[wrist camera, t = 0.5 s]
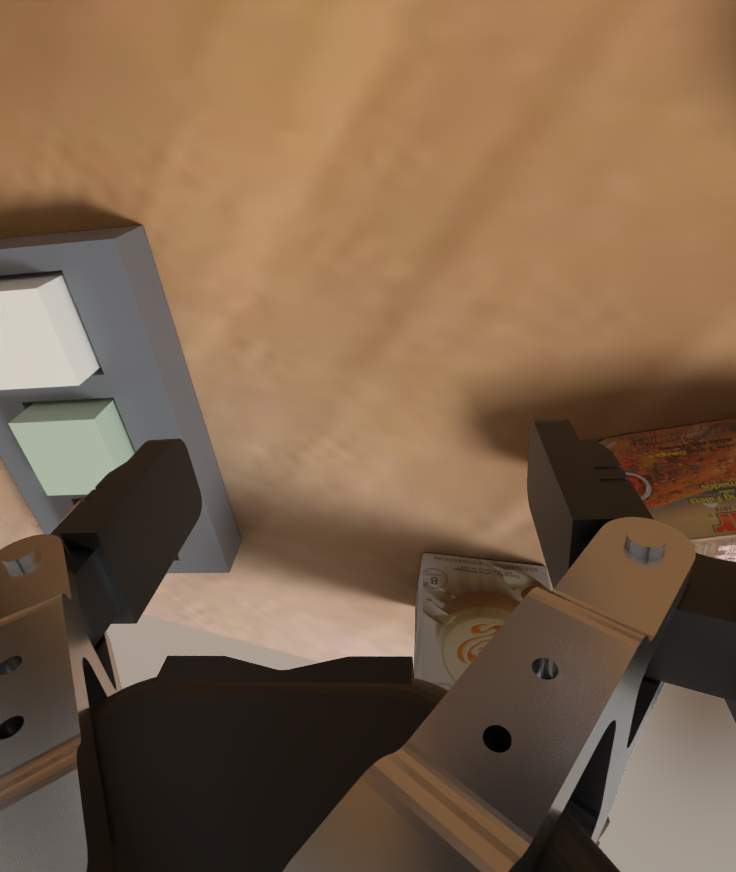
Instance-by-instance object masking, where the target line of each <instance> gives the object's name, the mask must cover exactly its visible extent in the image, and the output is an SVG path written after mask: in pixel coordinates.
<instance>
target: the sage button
mask: <svg viewBox="0 0 736 872" xmlns="http://www.w3.org/2000/svg"><path fill="white" fill-rule="evenodd" d="M8 424H9V426H10V428H11V430H12V432H13V434H14V435H15V437H16V439H17V441H18V443H19V445H20V446H21V448H22V450H23V452H24V454H25V456H26V458H27V459H28V461H29V463H30V465H31V467H32V469H33V470H34V472H35V474H36V476H37V478H38V480H39V481H40V483H41V485H42V487H43V489H44V491H45V492H46V494H47V496H52V495H86V494H89V493H90V492H91V491H92V490H95V487H96V485H97V484H98V483H99V482H100V481H101V480H102V479H103V478H104V477H105V476H106V475H107V474H108V473H109V472H111V471H113V470H114V469H116V468H117V467H119V466H121V465H122V464H124V463H125V462H127V461H128V460H129V459H130V458H131V457H132V456H133V455H134V454H135V449H134V447H133V444H132V442H131V439H130V437H129V434H128V432H127V429H126V427H125V424H124V422H123V420H122V417H121V415H120V412H119V410H118V407H117V405H116V402H115V400H114V398H97V399H78V400H60V401H41V402H34V403H33V404H32V405H30V406H29V407H28V408H27V409H25V410H24V411H23V412H22V413H20V414H19V415H18V416H17V417H15V418H14V419H13V420H12V421H10V422H9V423H8Z"/></svg>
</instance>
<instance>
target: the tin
mask: <svg viewBox="0 0 736 872" xmlns="http://www.w3.org/2000/svg"><path fill="white" fill-rule="evenodd" d="M599 443H600V444H602V445H603V446H605V447H606V448H608V449H609V450H611V451H612V452H613V454H614V455H615V457H616V458H617V460H618V462H619V463H620V465H621V469H623V470H624V471H625V473H626V475H627V476H628V478H629V481H631V483H632V484H633V486H634V488H635V489H636V491H637V493H638V494H639V496H640V497H641V499H642V501H643V502H644V504H645V506H646V507H647V509H648V510H649V512H650V514H651V515H652V517H653V519H654V520H656V521H660V522H662V523H665V524H668V525H670V526H672V527H674V528H676V529H677V530H679V531H680V532H682V533H683V534H684V535H685V536H686V537H687V538H688V539H689V540H690V541H691V542H692V544H693V546H694V548H695V551H696V553H698V554H701V555H705V556H708V557H713V558H717V559H722V560H728V561H733V562H736V418H730V419H724V420H717V421H711V422H704V423H698V424H692V425H685V426H679V427H673V428H666V429H659V430H652V431H645V432H639V433H632V434H626V435H620V436H615V437H611V438H608V439H605V440H602V441H600V442H599Z"/></svg>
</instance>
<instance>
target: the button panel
mask: <svg viewBox="0 0 736 872" xmlns="http://www.w3.org/2000/svg"><path fill="white" fill-rule="evenodd" d="M58 270H62V272H63V274H64V277H65V279H66V282H67V284H68V287H69V289H70V292H71V294H72V297H73V299H74V302H75V304H76V306H77V309H78V311H79V314H80V316H81V319H82V321H83V324H84V326H85V329H86V331H87V334H88V336H89V338H90V341H91V343H92V346H93V348H94V351H95V353H96V356H97V358H98V361H99V363H100V365H101V367H100V368H99V369H98V370H97V371H95V372H94V373H93V374H92V375H91V376H90V377H88V378H87V379H86V380H85V381H84V382H83V383H81V384H80V385H79V386H63V387H45V388H28V389H10V390H0V457H1V459H2V461H3V462H4V464H5V466H6V468H7V469H8V471H9V473H10V475H11V476H12V478H13V480H14V482H15V483H16V485H17V487H18V489H19V490H20V492H21V494H22V496H23V497H24V499H25V501H26V502H27V504H28V506H29V508H30V509H31V511H32V513H33V515H34V516H35V518H36V520H37V522H38V523H39V525H40V527H41V529H42V530H43V532H44V534H51V533H52V532H53V530H54V529H55V528H56V527H57V526H58V525H59V524H60V523H61V521H62V520H63V518H64V517H65V516H66V515H67V514H68V512H69V511H70V510H71V509H72V508H73V506H74V505H75V504H76V503H77V502H78V500H79V499H80V498H85V497H86V496H87V495H88V494H86V495H52V496H47V494H46V492H45V491H44V489H43V487H42V485H41V483H40V481H39V480H38V478H37V476H36V474H35V472H34V470H33V469H32V467H31V465H30V463H29V461H28V459H27V458H26V456H25V454H24V452H23V450H22V448H21V446H20V445H19V443H18V441H17V439H16V437H15V435H14V434H13V432H12V430H11V428H10V426H9V424H8V423H9V422H10V421H12V420H13V419H14V418H15V417H17V416H18V415H19V414H20V413H22V412H23V411H24V410H25V409H27V408H28V407H29V406H30V405H32V404H33V403H34V402H41V401H60V400H78V399H97V398H114V400H115V402H116V405H117V407H118V410H119V412H120V415H121V417H122V420H123V422H124V424H125V427H126V429H127V432H128V434H129V437H130V439H131V442H132V444H133V447H134V449H135V452H136V451H137V450H138V449H139V448H140V447H141V446H142V445H143V444H144V443H145V442H146V441H148V440H159V439H181V440H182V441H183V442H184V443H185V445H186V447H187V449H188V453H189V456H190V459H191V462H192V466H193V469H194V472H195V475H196V478H197V482H198V485H199V488H200V491H201V496H202V510H201V514H200V517H199V519H198V521H197V523H196V524H195V526H194V528H193V529H192V531H191V533H190V535H189V536H188V538H187V540H186V541H185V543H184V545H183V546H182V548H181V550H180V551H179V553H178V555H177V556H176V558H175V560H174V561H173V563H172V565H171V566H170V568H169V570H168V571H167V573H229V572H230V569H231V567H232V564H233V562H234V559H235V557H236V554H237V552H238V549H239V547H240V544H241V542H242V541H241V538H240V535H239V532H238V528H237V525H236V522H235V519H234V515H233V512H232V509H231V506H230V503H229V499H228V496H227V493H226V490H225V487H224V483H223V480H222V477H221V474H220V471H219V467H218V464H217V461H216V458H215V454H214V451H213V448H212V445H211V442H210V438H209V435H208V432H207V429H206V426H205V422H204V419H203V416H202V413H201V410H200V406H199V403H198V400H197V397H196V393H195V390H194V387H193V384H192V381H191V377H190V374H189V371H188V368H187V365H186V361H185V358H184V355H183V352H182V349H181V345H180V342H179V339H178V336H177V332H176V329H175V326H174V323H173V320H172V316H171V313H170V310H169V307H168V304H167V300H166V297H165V294H164V291H163V288H162V284H161V281H160V278H159V275H158V271H157V268H156V265H155V262H154V259H153V255H152V252H151V249H150V246H149V243H148V239H147V236H146V233H145V230H144V227H143V225H138V226H128V227H118V228H107V229H97V230H87V231H76V232H66V233H55V234H45V235H35V236H24V237H14V238H3V239H0V276H1V275H12V274H24V273H35V272H47V271H58Z"/></svg>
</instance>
